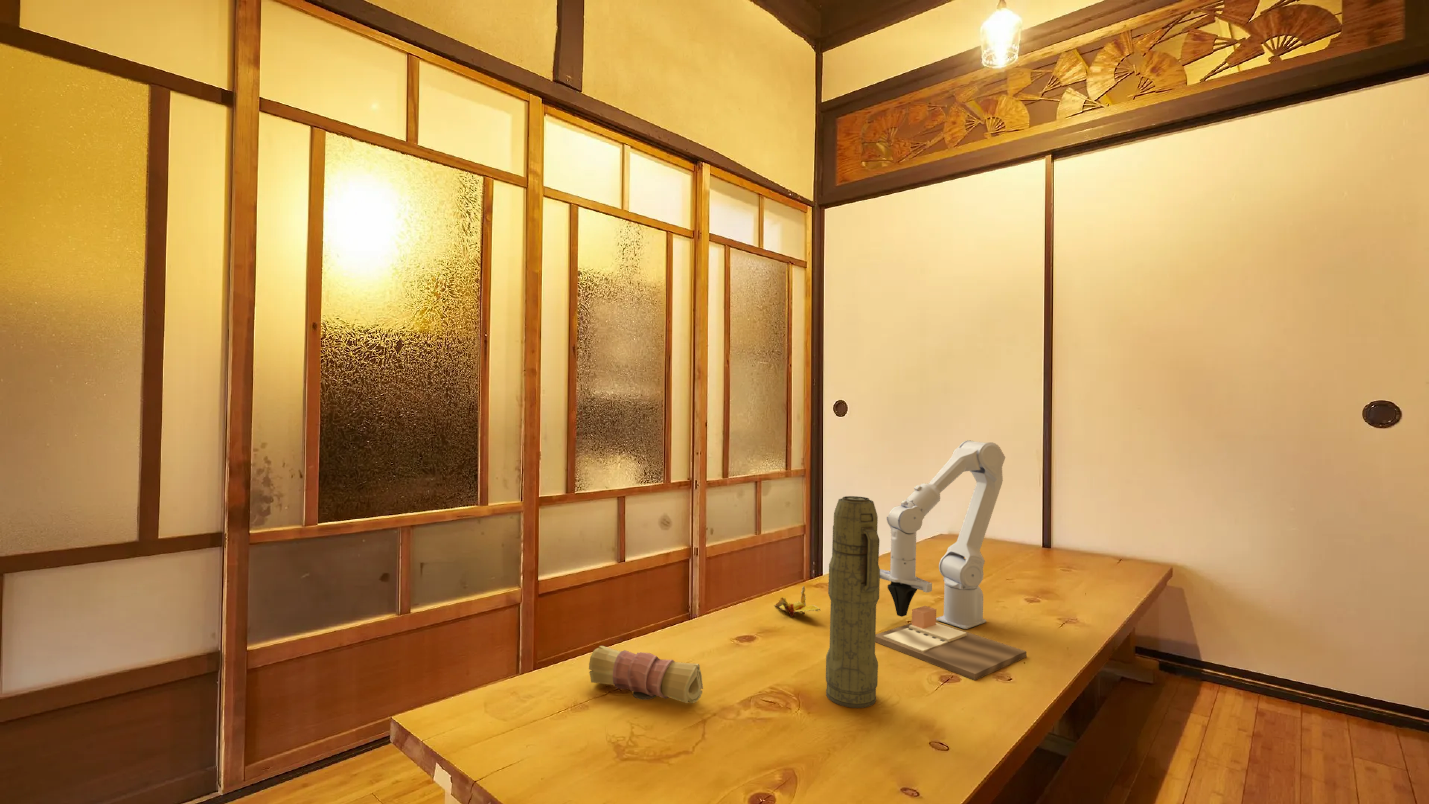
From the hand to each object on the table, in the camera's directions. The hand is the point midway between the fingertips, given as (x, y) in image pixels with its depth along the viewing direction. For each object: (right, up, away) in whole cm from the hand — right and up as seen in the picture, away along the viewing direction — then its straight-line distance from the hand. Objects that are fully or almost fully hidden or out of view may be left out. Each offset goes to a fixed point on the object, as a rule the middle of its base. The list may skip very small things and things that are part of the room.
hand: (901, 615), depth 149 cm
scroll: (-56, -1, -38) cm, 68 cm away
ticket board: (+6, -2, -14) cm, 15 cm away
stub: (+6, -1, -8) cm, 10 cm away
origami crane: (-24, -2, +5) cm, 25 cm away
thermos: (-20, -2, -38) cm, 43 cm away
